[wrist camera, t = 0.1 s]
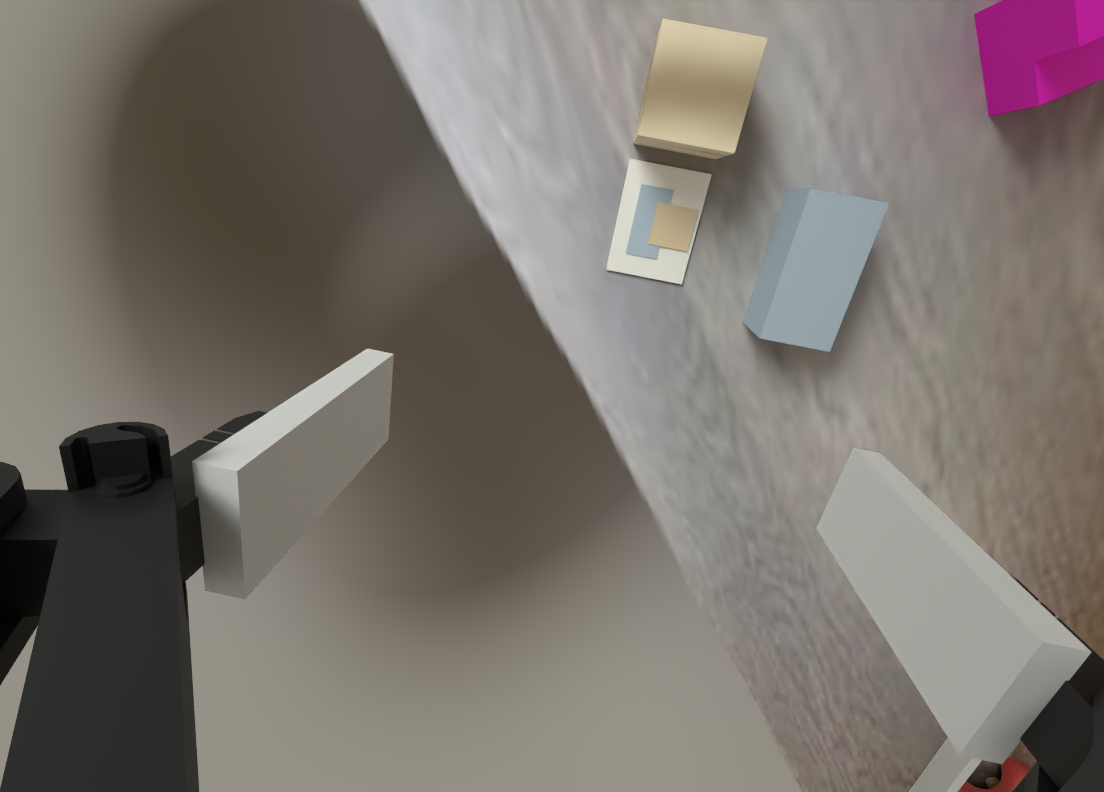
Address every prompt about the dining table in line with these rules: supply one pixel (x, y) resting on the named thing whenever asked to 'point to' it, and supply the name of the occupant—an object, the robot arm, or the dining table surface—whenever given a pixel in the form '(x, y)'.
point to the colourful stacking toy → (1010, 778)
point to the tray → (945, 771)
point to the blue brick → (812, 266)
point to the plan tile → (657, 221)
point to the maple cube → (698, 89)
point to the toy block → (1039, 50)
